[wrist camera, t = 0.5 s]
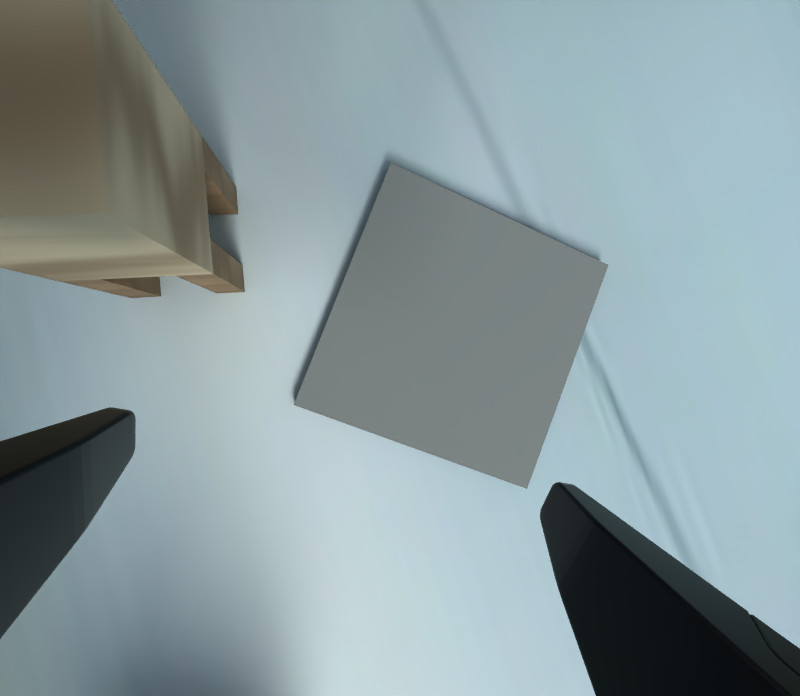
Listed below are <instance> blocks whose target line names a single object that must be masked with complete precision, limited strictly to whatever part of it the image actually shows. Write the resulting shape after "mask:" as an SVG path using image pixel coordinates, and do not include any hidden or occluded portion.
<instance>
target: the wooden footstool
mask: <svg viewBox="0 0 800 696" xmlns="http://www.w3.org/2000/svg"><path fill="white" fill-rule="evenodd" d="M208 213H209V214H210V215H214V214H238V207H237V195H236V187H235V185H234V184H233V182H232V181H231V179H230V178H229V176H228V175H227V173H226V172H225V170H224V169H223V167H222V166H221V164H220V163H219V161H218V160H217V158H216V157H215V155H214V153H213V152H212V150H211V149H210V147H209V146H208V144H207V143H206V141H205V140H204V138H203V137H202V135H201V134H200V132H199V131H198V129H197V128H196V126H195V125H194V123H193V122H192V120H191V119H190V117H189V116H188V114H187V113H186V111H185V110H184V108H183V107H182V105H181V104H180V102H179V101H178V99H177V98H176V96H175V95H174V93H173V92H172V90H171V89H170V87H169V86H168V84H167V83H166V81H165V80H164V78H163V77H162V75H161V74H160V72H159V71H158V69H157V68H156V66H155V65H154V63H153V62H152V60H151V59H150V57H149V56H148V54H147V53H146V51H145V50H144V48H143V46H142V45H141V43H140V42H139V40H138V39H137V37H136V36H135V34H134V33H133V31H132V30H131V28H130V27H129V25H128V24H127V22H126V21H125V19H124V18H123V16H122V15H121V13H120V12H119V10H118V9H117V7H116V6H115V4H114V3H113V1H112V0H0V268H4V269H8V270H12V271H17V272H21V273H25V274H30V275H34V276H38V277H43V278H47V279H51V280H56V281H60V282H64V283H69V284H73V285H77V286H82V287H86V288H90V289H95V290H99V291H103V292H108V293H112V294H116V295H121V296H125V297H129V298H138V297H156V296H161V292H160V281H159V276H177V277H180V278H182V279H184V280H187V281H189V282H191V283H194V284H196V285H199V286H201V287H203V288H206V289H208V290H210V291H213V292H215V293H230V292H245V290H244V278H243V266H242V264H240V263H239V262H238V261H237V260H235V259H234V258H233V257H232V256H231V255H229V254H228V253H227V252H226V251H225V250H223V249H222V248H221V247H220V246H218V245H217V244H216V243H215V242H214V241H212V240H211V239H210V230H209V218H208Z"/></svg>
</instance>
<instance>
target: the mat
mask: <svg viewBox="0 0 800 696" xmlns="http://www.w3.org/2000/svg"><path fill="white" fill-rule="evenodd" d="M607 267H608V265H607V264H605V263H603V262H601V261H599V260H597V259H594V258H592V257H590V256H588V255H586V254H584V253H582V252H580V251H577V250H575V249H573V248H571V247H569V246H567V245H565V244H563V243H560V242H558V241H556V240H554V239H552V238H550V237H548V236H546V235H544V234H541V233H539V232H537V231H535V230H533V229H531V228H529V227H527V226H524V225H522V224H520V223H518V222H516V221H514V220H512V219H510V218H507V217H505V216H503V215H501V214H499V213H497V212H495V211H493V210H490V209H488V208H486V207H484V206H482V205H480V204H478V203H476V202H474V201H471V200H469V199H467V198H465V197H463V196H461V195H459V194H457V193H454V192H452V191H450V190H448V189H446V188H444V187H442V186H440V185H437V184H435V183H433V182H431V181H429V180H427V179H425V178H423V177H420V176H418V175H416V174H414V173H412V172H410V171H408V170H406V169H403V168H401V167H399V166H397V165H395V164H393V163H391V164H390V166H389V169H388V171H387V173H386V176H385V178H384V181H383V183H382V186H381V188H380V191H379V193H378V196H377V198H376V201H375V203H374V206H373V208H372V211H371V213H370V216H369V218H368V221H367V223H366V226H365V228H364V231H363V233H362V236H361V238H360V241H359V243H358V246H357V248H356V251H355V253H354V256H353V258H352V261H351V263H350V266H349V268H348V271H347V273H346V276H345V278H344V281H343V283H342V286H341V288H340V291H339V293H338V295H337V298H336V300H335V303H334V305H333V308H332V310H331V313H330V315H329V318H328V320H327V323H326V325H325V328H324V330H323V333H322V335H321V338H320V340H319V343H318V345H317V348H316V350H315V353H314V355H313V358H312V360H311V363H310V365H309V368H308V370H307V373H306V375H305V378H304V380H303V383H302V385H301V388H300V390H299V393H298V395H297V398H296V400H295V403H294V405H296V406H299V407H301V408H304V409H307V410H310V411H312V412H315V413H318V414H321V415H324V416H326V417H329V418H332V419H335V420H338V421H340V422H343V423H346V424H349V425H351V426H354V427H357V428H360V429H363V430H365V431H368V432H371V433H374V434H376V435H379V436H382V437H385V438H388V439H390V440H393V441H396V442H399V443H401V444H404V445H407V446H410V447H413V448H415V449H418V450H421V451H424V452H426V453H429V454H432V455H435V456H438V457H440V458H443V459H446V460H449V461H452V462H454V463H457V464H460V465H463V466H465V467H468V468H471V469H474V470H477V471H479V472H482V473H485V474H488V475H490V476H493V477H496V478H499V479H502V480H504V481H507V482H510V483H513V484H515V485H518V486H521V487H524V488H527V487H528V484H529V482H530V479H531V476H532V473H533V471H534V468H535V465H536V462H537V460H538V457H539V454H540V451H541V449H542V446H543V443H544V440H545V438H546V435H547V432H548V429H549V427H550V424H551V421H552V418H553V416H554V413H555V410H556V407H557V405H558V402H559V399H560V396H561V394H562V391H563V388H564V385H565V383H566V380H567V377H568V374H569V372H570V369H571V366H572V363H573V361H574V358H575V355H576V352H577V350H578V347H579V344H580V341H581V339H582V336H583V333H584V330H585V328H586V325H587V322H588V319H589V317H590V314H591V311H592V308H593V306H594V303H595V300H596V297H597V295H598V292H599V289H600V286H601V284H602V281H603V278H604V275H605V273H606V270H607Z"/></svg>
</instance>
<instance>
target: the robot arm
mask: <svg viewBox="0 0 800 696" xmlns="http://www.w3.org/2000/svg"><path fill="white" fill-rule="evenodd" d="M134 450H135V415H134V413H133V412H132V411H130V410H124V409H118V408H106V409H103V410H99V411H96V412H93V413H90V414H87V415H83V416H80V417H77V418H74V419H71V420H67V421H64V422H61V423H58V424H55V425H51V426H48V427H45V428H42V429H39V430H35V431H32V432H29V433H26V434H23V435H19V436H16V437H13V438H10V439H6V440H3V441H0V639H1V637H2V636H3V635H4V633H5V632H6V631H7V630H8V628H9V627H10V626H11V625H12V623H13V622H14V621H15V619H16V618H17V617H18V616H19V614H20V613H21V612H22V611H23V609H24V608H25V607H26V605H27V604H28V603H29V602H30V600H31V599H32V598H33V597H34V595H35V594H36V593H37V591H38V590H39V589H40V588H41V586H42V585H43V584H44V583H45V581H46V580H47V579H48V577H49V576H50V575H51V574H52V572H53V571H54V570H55V569H56V567H57V566H58V565H59V563H60V562H61V561H62V560H63V558H64V557H65V556H66V554H67V553H68V552H69V551H70V549H71V548H72V547H73V546H74V544H75V543H76V542H77V540H78V539H79V538H80V536H81V535H82V534H83V532H84V531H85V530H86V528H87V527H88V525H89V524H90V522H91V521H92V519H93V518H94V516H95V515H96V513H97V512H98V510H99V508H100V507H101V505H102V504H103V502H104V500H105V499H106V497H107V496H108V494H109V493H110V491H111V489H112V488H113V486H114V485H115V483H116V482H117V480H118V478H119V477H120V475H121V474H122V472H123V471H124V469H125V467H126V466H127V464H128V463H129V461H130V459H131V458H132V456H133V453H134ZM540 520H541V524H542V528H543V532H544V536H545V540H546V544H547V548H548V552H549V556H550V559H551V563H552V567H553V571H554V575H555V579H556V582H557V586H558V589H559V592H560V595H561V598H562V601H563V604H564V607H565V610H566V613H567V615H568V618H569V621H570V624H571V627H572V630H573V632H574V635H575V638H576V641H577V644H578V647H579V649H580V652H581V655H582V658H583V661H584V664H585V666H586V669H587V672H588V675H589V678H590V680H591V683H592V686H593V689H594V692H595V695H596V696H800V649H799V648H798V647H797V646H795V645H794V644H792V643H791V642H790V641H788V640H787V639H785V638H784V637H783V636H781V635H780V634H778V633H777V632H776V631H774V630H773V629H772V628H770V627H769V626H767V625H766V624H765V623H763V622H762V621H761V620H759V619H758V618H756V617H755V616H754V615H749V613H748V611H747V610H745V609H744V608H743V607H741V606H740V605H738V604H737V603H736V602H734V601H733V600H732V599H730V598H729V597H727V596H726V595H725V594H723V593H722V592H721V591H719V590H718V589H716V588H715V587H714V586H712V585H711V584H710V583H708V582H707V581H705V580H704V579H703V578H701V577H700V576H699V575H697V574H696V573H694V572H693V571H692V570H690V569H689V568H688V567H686V566H685V565H683V564H682V563H681V562H679V561H678V560H677V559H675V558H674V557H672V556H671V555H670V554H668V553H667V552H666V551H664V550H663V549H661V548H660V547H659V546H657V545H656V544H655V543H653V542H652V541H650V540H649V539H648V538H646V537H645V536H644V535H642V534H641V533H639V532H638V531H637V530H635V529H634V528H633V527H631V526H630V525H628V524H627V523H626V522H624V521H623V520H622V519H620V518H619V517H617V516H616V515H615V514H613V513H612V512H611V511H609V510H608V509H606V508H605V507H604V506H602V505H601V504H600V503H598V502H597V501H595V500H594V499H593V498H591V497H590V496H589V495H587V494H586V493H584V492H583V491H582V490H580V489H579V488H578V487H576V486H575V485H572V484H566V483H560V482H557V483H555V484H554V485H553V486H552V487H551V489H550V491H549V494H548V496H547V498H546V500H545V502H544V504H543V506H542V508H541V512H540Z"/></svg>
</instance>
